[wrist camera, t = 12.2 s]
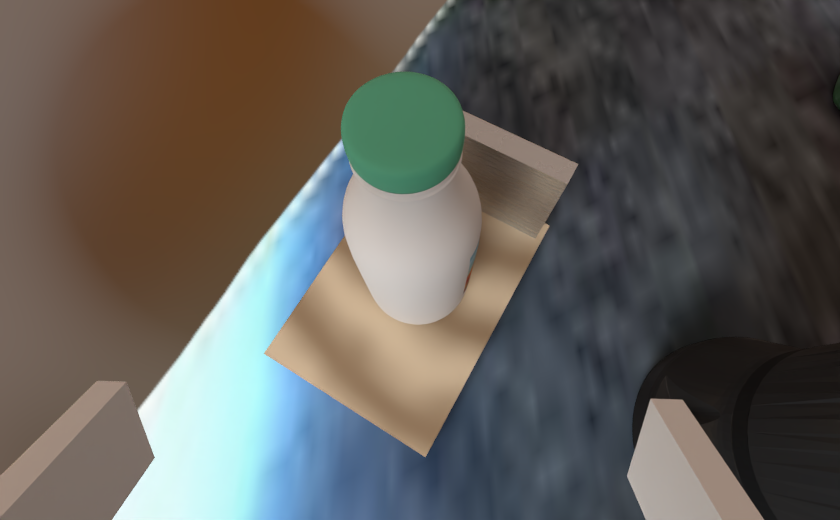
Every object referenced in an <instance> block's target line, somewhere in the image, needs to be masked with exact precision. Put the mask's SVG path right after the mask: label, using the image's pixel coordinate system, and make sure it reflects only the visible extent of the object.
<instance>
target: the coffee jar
mask: <svg viewBox="0 0 840 520" xmlns="http://www.w3.org/2000/svg"><path fill="white" fill-rule="evenodd" d="M833 101H834V104H835V105H836V106H837V107H838V108H839V110H840V75H839V77H838V79H837V82H836V85H835V88H834V92H833Z"/></svg>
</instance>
